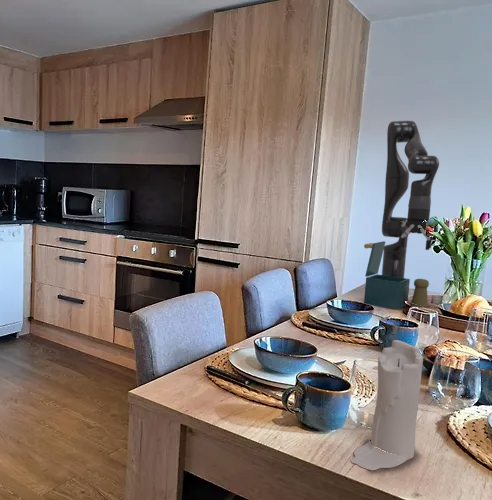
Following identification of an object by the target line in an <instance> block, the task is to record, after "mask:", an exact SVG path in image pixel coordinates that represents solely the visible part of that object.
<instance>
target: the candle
mask: <svg viewBox="0 0 492 500" xmlns="http://www.w3.org/2000/svg"><path fill="white" fill-rule="evenodd" d="M423 364H424V357H423V355H422V354H421V350H420V348H419V347H418V346H415V345H411V344H410V343H407V342H404V341H402V340H398V339H394V340H392V342H391V346H389V347H383V349H382V350H381V353H380V354H379V356H378V357H377V392H376V393H377V394H376V402H375V408H374V413H373V418H372V424H371V433H370V438H369V441H368V442H366V443H365V444H363V445H361V446H359V447H357V449H355V450H354V452H353V455H354V457H353V458H351V459H350V461H351V464H355V465H357V466H359V467H361V468H363V469H366V470H369V471H376V470H379V469H392V468H395V467H398V466H401V465H402V464H404V463H405V462H407V461H409V460H411V459H413V457H414V456H415V448H416V431H417V429H416V428H417V418H418V410H419V402H420V393H421V386H422V385H421V384H422V373H423ZM370 440H371V442H372V444H371V442H370ZM372 445H373V446H375V447H378V448H380V449H381V450H380V449H378V448H374V447H373V446H372ZM382 450H384V451H386V452H384V451H382ZM387 452H388V453H387ZM390 453H392V454H390ZM394 454H396V455H394Z"/></svg>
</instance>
